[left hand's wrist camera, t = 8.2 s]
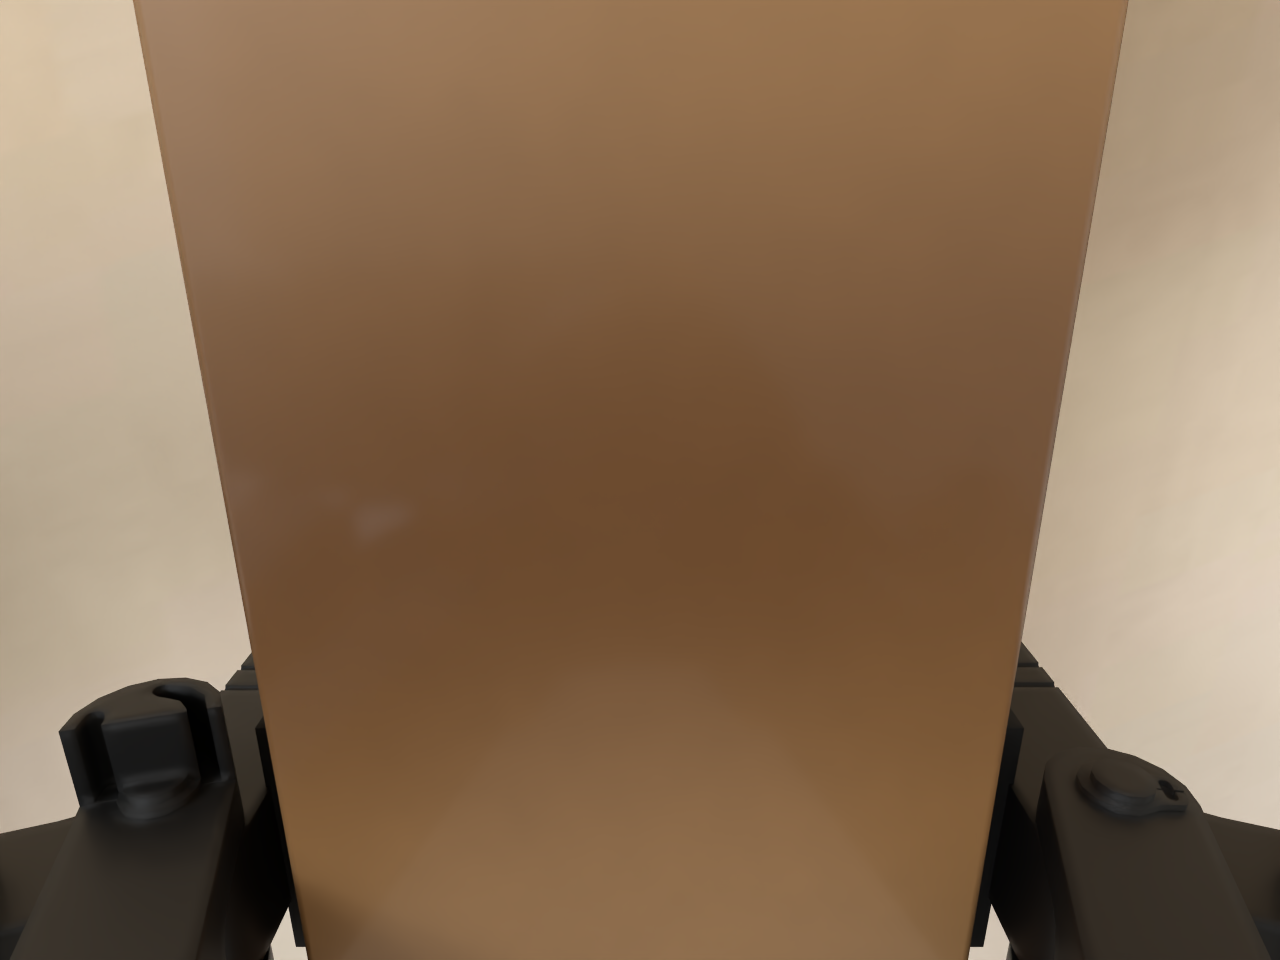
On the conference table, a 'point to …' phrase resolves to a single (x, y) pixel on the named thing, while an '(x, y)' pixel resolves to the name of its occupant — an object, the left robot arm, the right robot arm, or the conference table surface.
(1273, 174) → the conference table surface
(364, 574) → the beam
